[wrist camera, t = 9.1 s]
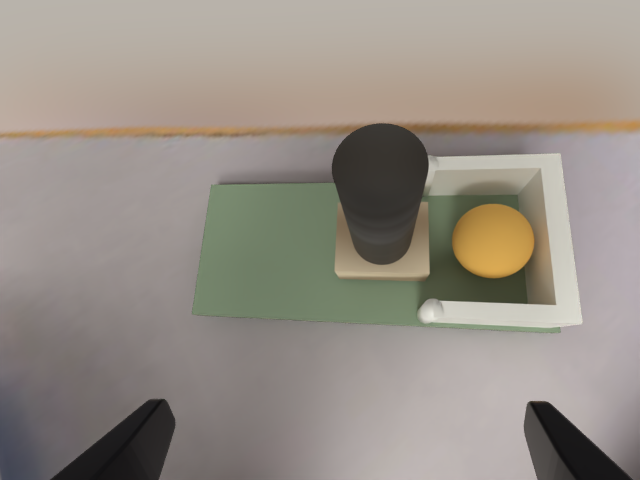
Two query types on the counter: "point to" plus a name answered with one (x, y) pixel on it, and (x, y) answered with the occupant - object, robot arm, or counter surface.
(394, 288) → the board
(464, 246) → the ball
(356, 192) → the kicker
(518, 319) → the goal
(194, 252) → the counter surface
